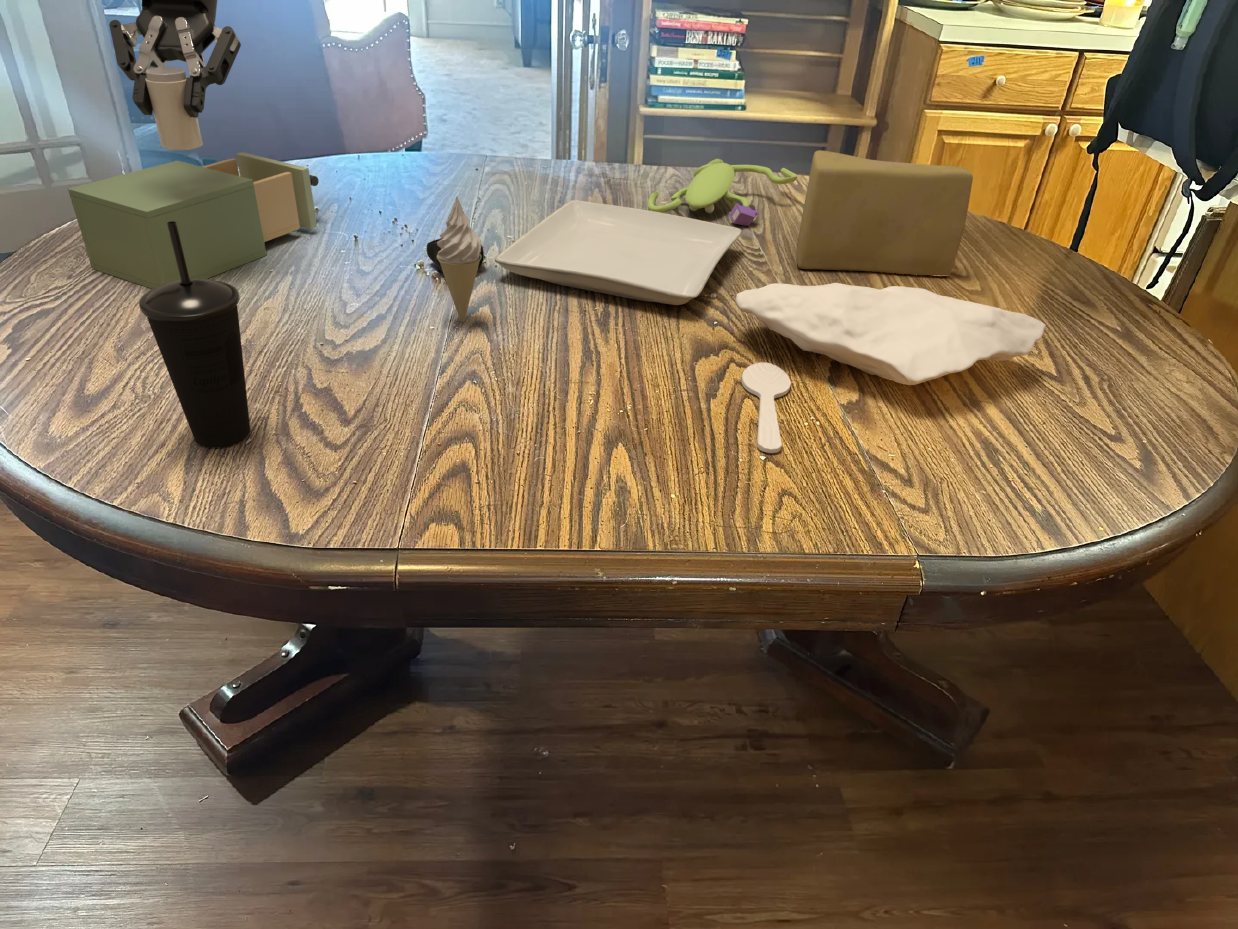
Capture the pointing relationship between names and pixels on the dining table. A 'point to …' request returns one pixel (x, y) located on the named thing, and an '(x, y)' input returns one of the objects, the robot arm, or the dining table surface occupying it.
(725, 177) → the figurine
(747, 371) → the spoon
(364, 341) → the dining table surface
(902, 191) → the brown rectangular block
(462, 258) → the ice cream cone
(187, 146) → the salt shaker
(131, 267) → the cabinet
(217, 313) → the drinking cup
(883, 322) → the white rock slab
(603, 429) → the dining table surface
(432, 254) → the tape measure
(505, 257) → the square plate
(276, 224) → the drawer
